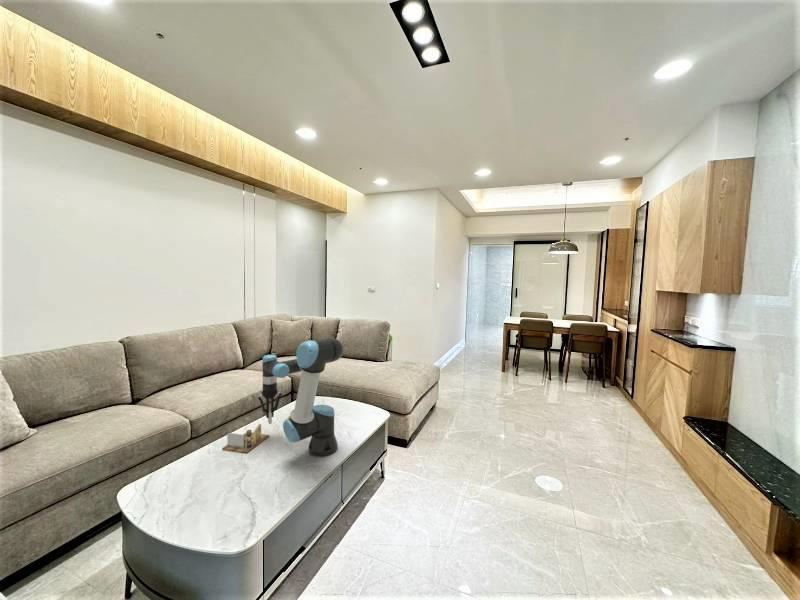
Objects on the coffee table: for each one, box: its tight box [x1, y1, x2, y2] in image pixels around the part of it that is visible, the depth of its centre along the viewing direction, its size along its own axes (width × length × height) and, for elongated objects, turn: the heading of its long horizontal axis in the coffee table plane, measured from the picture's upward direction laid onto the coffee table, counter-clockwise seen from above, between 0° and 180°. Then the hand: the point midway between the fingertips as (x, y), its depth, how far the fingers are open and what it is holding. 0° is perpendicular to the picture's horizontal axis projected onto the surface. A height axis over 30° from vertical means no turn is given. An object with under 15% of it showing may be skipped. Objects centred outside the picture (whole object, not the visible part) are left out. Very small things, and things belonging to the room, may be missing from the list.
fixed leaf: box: [226, 429, 253, 449], centre depth 175 cm, size 12×4×9 cm, turn 77°
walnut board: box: [221, 431, 270, 454], centre depth 180 cm, size 15×19×1 cm
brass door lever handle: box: [247, 423, 262, 445], centre depth 179 cm, size 12×4×7 cm, turn 7°
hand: (269, 422), depth 187 cm, fingers closed
